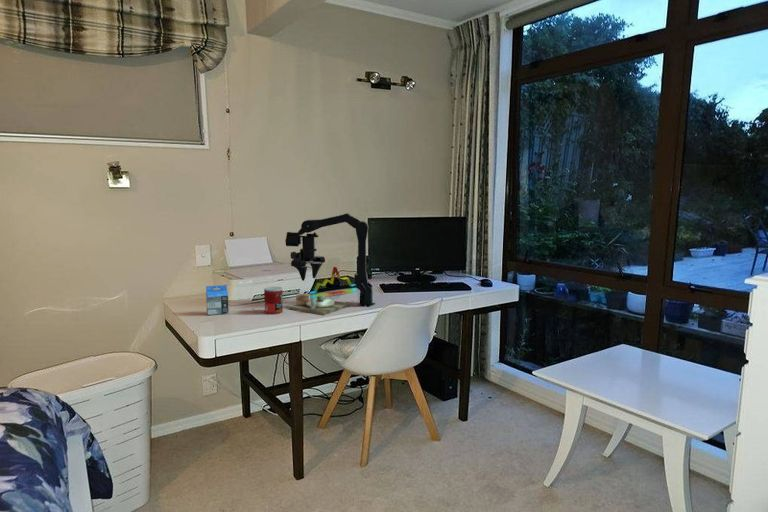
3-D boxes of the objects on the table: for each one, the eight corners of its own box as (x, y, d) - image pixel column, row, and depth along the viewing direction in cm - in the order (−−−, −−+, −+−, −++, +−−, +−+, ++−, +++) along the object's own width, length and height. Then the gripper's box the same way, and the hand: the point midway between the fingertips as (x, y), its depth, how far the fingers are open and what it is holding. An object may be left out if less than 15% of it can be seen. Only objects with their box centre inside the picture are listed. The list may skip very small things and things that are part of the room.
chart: (308, 301, 238) (307, 271, 236) (304, 300, 240) (304, 270, 238) (356, 292, 258) (356, 265, 256) (353, 291, 260) (352, 264, 258)
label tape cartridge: (207, 315, 209) (206, 287, 207) (206, 313, 212) (205, 286, 210) (228, 313, 212) (227, 286, 210) (227, 311, 216) (226, 284, 214)
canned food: (278, 315, 210) (278, 290, 209) (261, 313, 212) (260, 289, 210) (285, 310, 218) (285, 286, 216) (269, 309, 219) (268, 286, 218)
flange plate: (336, 301, 230) (335, 292, 229) (332, 307, 217) (332, 298, 217) (299, 300, 230) (299, 291, 230) (293, 307, 218) (293, 297, 217)
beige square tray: (317, 300, 238) (317, 288, 237) (350, 305, 227) (350, 293, 226) (289, 309, 221) (289, 296, 220) (323, 315, 210) (323, 301, 210)
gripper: (307, 243, 238) (307, 274, 240) (281, 247, 222) (282, 280, 225) (325, 245, 233) (325, 277, 235) (300, 249, 217) (300, 283, 219)
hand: (308, 279), depth 228 cm, fingers open, 8 cm apart
